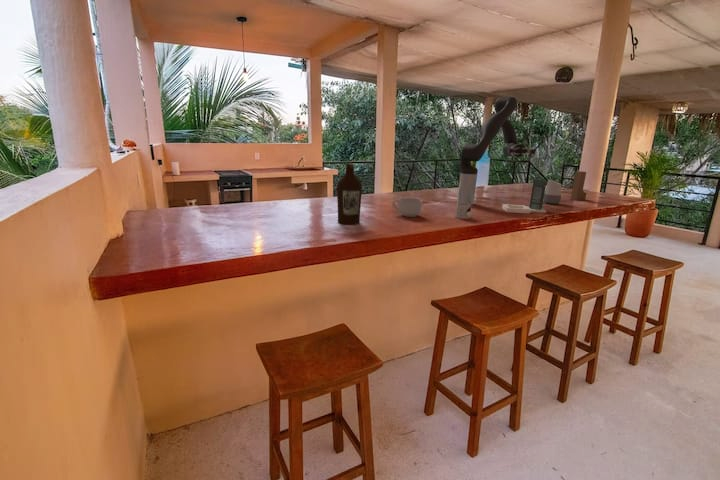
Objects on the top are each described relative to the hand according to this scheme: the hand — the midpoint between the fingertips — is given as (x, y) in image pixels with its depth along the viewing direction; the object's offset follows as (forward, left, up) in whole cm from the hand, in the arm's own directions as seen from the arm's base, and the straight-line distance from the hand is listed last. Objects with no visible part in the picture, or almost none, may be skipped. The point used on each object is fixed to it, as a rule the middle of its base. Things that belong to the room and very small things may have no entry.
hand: (524, 151), depth 206 cm
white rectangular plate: (+6, -16, -30) cm, 35 cm away
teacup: (-62, -50, -30) cm, 85 cm away
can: (+6, -16, -29) cm, 34 cm away
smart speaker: (+22, +10, -30) cm, 39 cm away
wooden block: (+45, +32, -30) cm, 63 cm away
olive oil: (-86, -72, -30) cm, 116 cm away
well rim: (-5, -20, -30) cm, 36 cm away
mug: (-35, -45, -30) cm, 65 cm away
